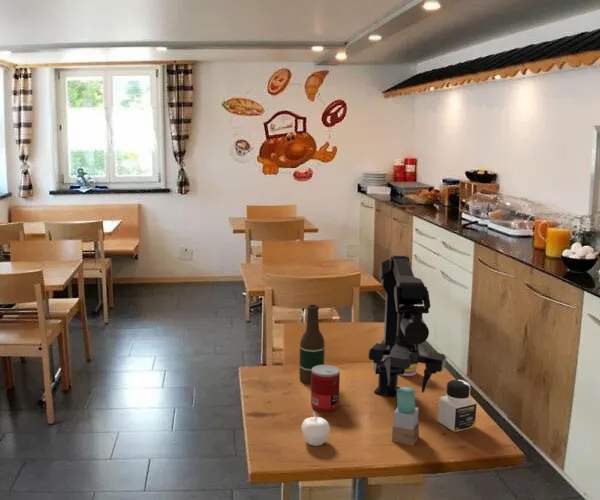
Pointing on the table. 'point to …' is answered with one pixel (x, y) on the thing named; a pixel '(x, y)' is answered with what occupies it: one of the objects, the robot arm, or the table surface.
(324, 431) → the plain white apple
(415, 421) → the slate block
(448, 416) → the medicine bottle
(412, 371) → the supplement bottle
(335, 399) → the canned food
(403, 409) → the teal cylinder
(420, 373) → the table surface
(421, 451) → the table surface
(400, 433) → the walnut block
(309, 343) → the beer bottle
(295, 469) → the table surface
